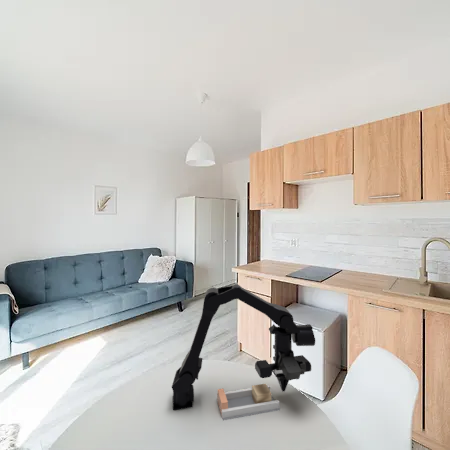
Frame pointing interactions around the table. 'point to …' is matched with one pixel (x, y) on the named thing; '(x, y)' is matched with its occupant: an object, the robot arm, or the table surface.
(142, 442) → the table surface
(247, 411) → the channel
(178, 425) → the table surface
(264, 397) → the tan block
